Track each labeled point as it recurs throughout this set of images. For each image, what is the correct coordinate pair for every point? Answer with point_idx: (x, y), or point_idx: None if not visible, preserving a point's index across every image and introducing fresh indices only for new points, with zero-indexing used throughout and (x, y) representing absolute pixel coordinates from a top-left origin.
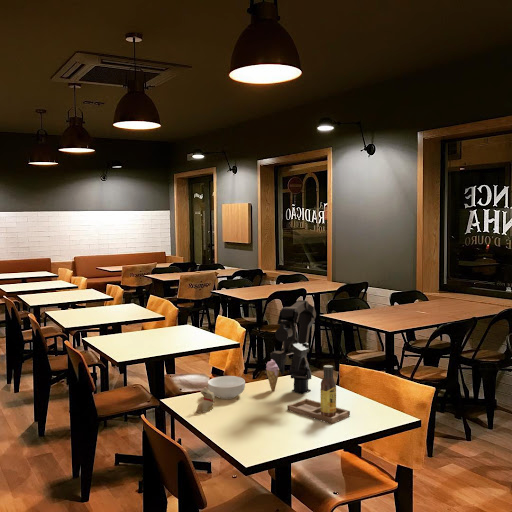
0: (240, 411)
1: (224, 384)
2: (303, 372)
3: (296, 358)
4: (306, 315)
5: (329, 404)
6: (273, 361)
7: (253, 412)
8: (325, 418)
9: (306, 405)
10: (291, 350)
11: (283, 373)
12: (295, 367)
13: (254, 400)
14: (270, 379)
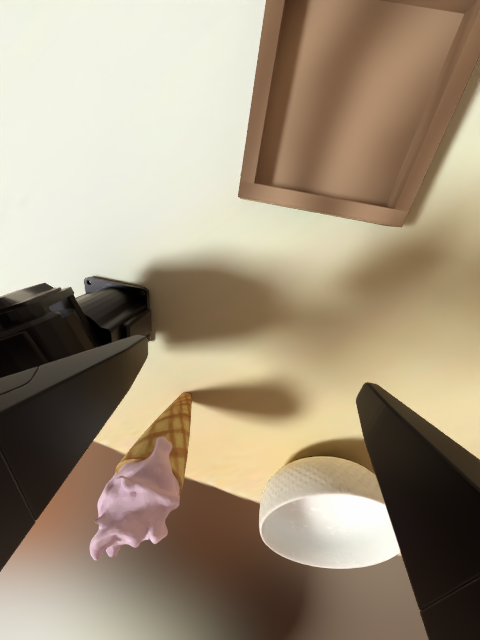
0: (464, 387)
1: (282, 517)
2: (63, 321)
3: (16, 480)
4: None
5: None
6: (129, 538)
7: (466, 343)
8: None
9: (291, 160)
10: None
11: (382, 390)
12: (135, 375)
13: (317, 400)
14: (188, 438)
